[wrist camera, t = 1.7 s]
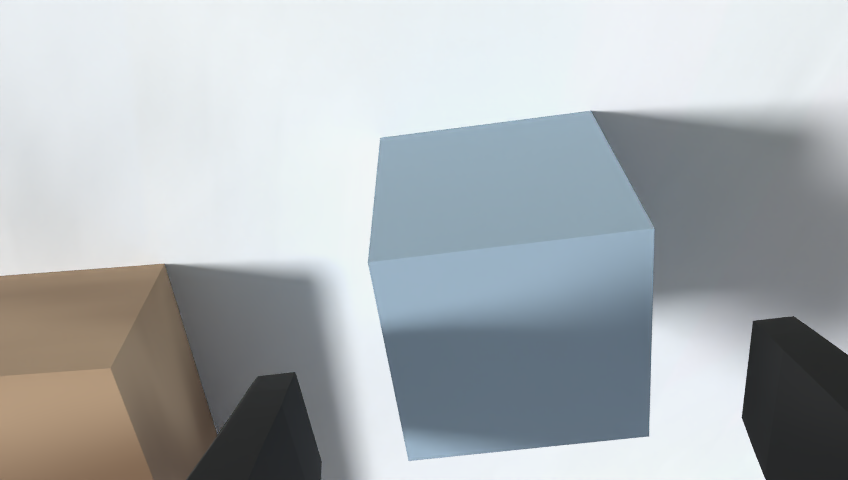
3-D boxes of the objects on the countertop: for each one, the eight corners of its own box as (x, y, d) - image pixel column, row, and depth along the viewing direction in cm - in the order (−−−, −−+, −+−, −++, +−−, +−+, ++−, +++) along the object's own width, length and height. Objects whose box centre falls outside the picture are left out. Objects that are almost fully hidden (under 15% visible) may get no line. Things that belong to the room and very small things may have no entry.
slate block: (594, 284, 18) (649, 436, 14) (410, 305, 19) (408, 460, 14) (590, 110, 16) (655, 228, 12) (380, 136, 16) (367, 262, 12)
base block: (237, 486, 22) (205, 614, 19) (-29, 504, 22) (-109, 634, 19) (167, 257, 18) (110, 368, 15) (-158, 282, 18) (-290, 397, 15)
